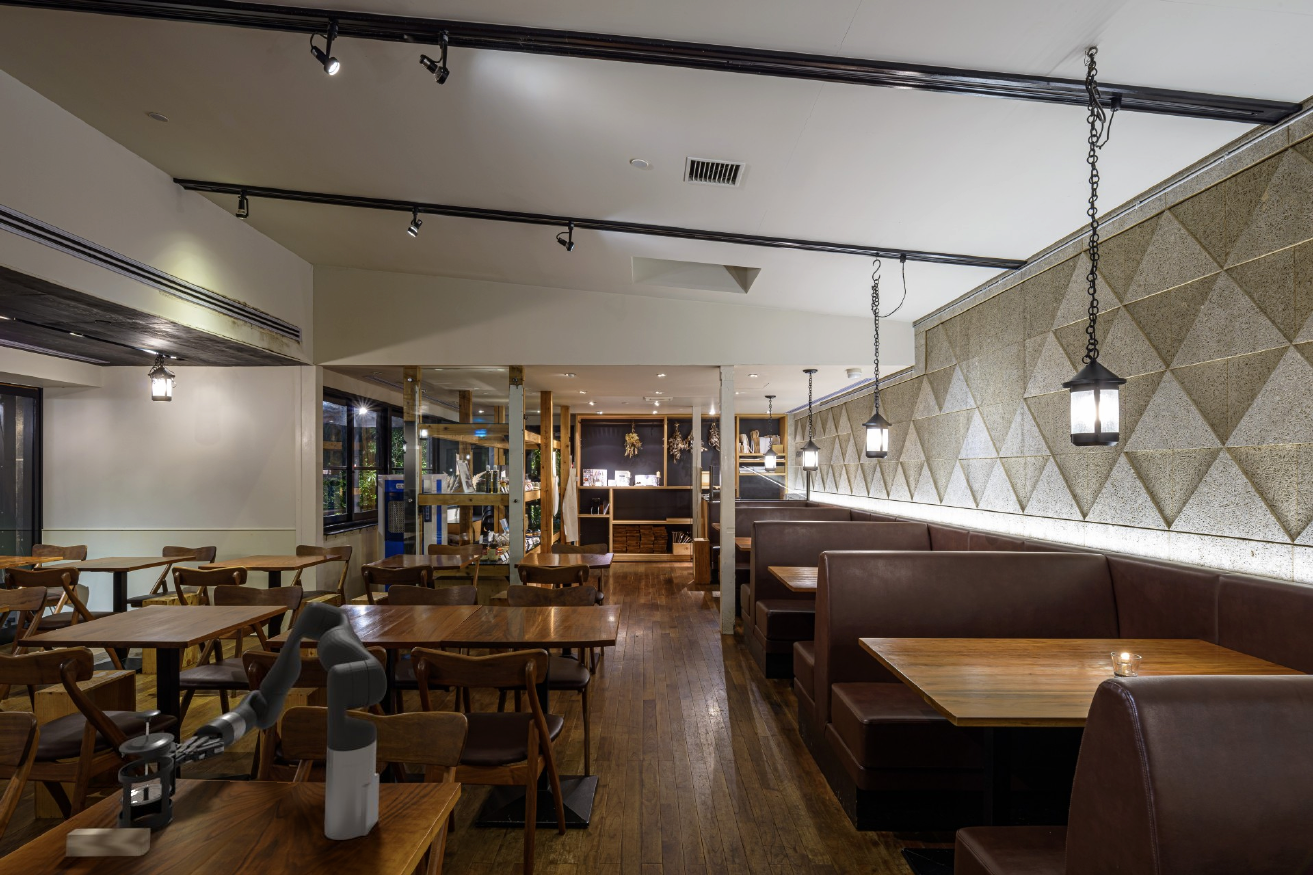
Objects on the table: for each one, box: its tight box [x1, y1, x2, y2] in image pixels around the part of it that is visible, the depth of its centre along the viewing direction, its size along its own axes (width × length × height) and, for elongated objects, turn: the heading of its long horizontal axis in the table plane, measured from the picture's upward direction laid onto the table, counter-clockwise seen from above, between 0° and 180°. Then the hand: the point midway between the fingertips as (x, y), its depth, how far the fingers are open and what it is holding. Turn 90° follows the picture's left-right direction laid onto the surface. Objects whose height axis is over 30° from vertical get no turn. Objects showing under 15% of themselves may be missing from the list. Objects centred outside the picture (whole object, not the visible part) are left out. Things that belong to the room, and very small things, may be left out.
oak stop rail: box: [65, 828, 151, 857], centre depth 126 cm, size 14×2×4 cm, turn 92°
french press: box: [116, 709, 177, 835], centre depth 136 cm, size 12×9×23 cm
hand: (168, 765), depth 142 cm, fingers closed
